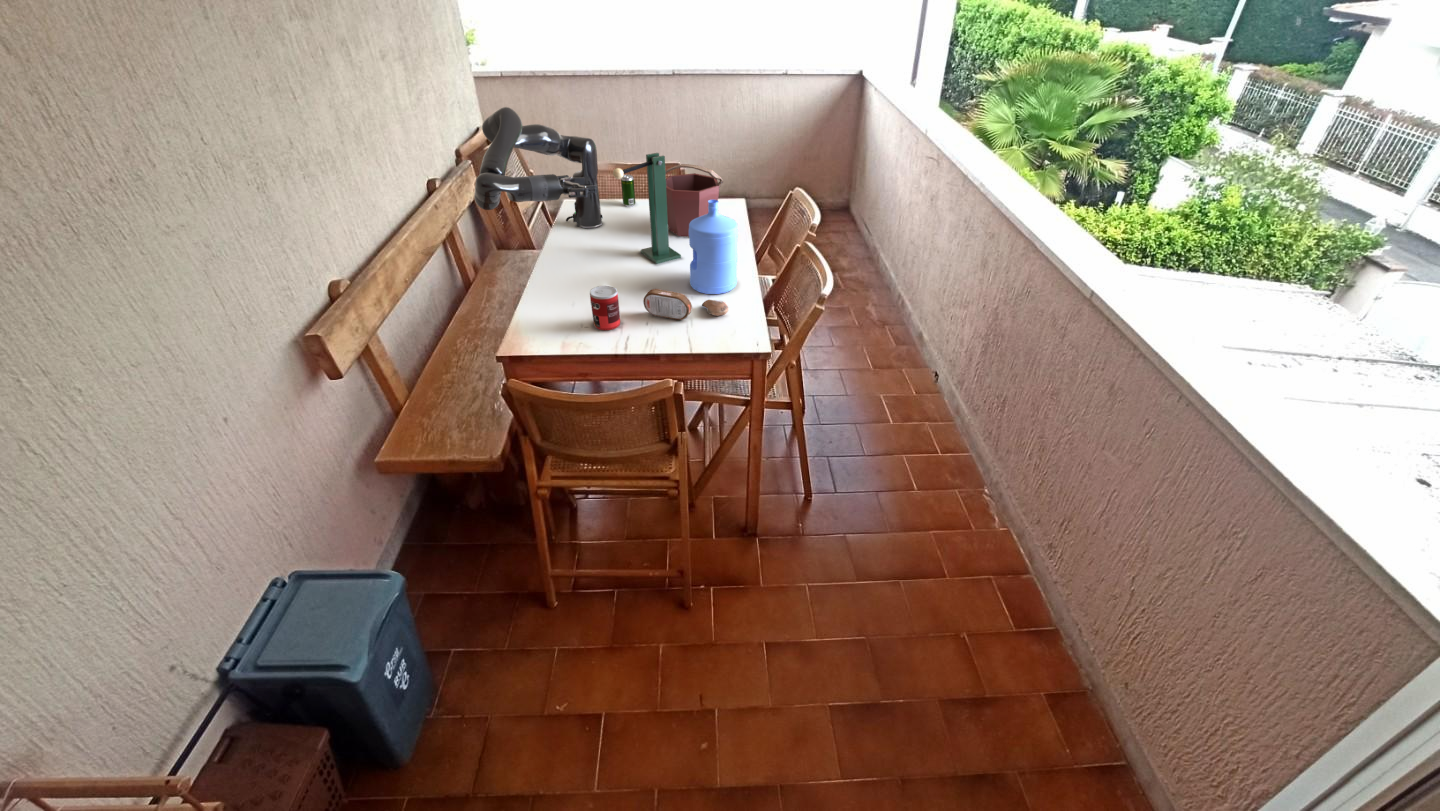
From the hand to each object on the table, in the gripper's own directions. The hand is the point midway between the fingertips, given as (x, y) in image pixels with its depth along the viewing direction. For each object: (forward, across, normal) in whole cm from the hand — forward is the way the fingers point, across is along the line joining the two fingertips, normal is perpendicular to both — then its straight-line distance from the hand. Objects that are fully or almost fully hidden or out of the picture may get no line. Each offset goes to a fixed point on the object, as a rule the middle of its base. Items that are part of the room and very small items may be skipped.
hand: (590, 184), depth 203 cm
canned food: (-12, -35, +30) cm, 48 cm away
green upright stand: (+28, -1, +27) cm, 39 cm away
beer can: (+46, +53, +27) cm, 75 cm away
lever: (+17, +1, -3) cm, 18 cm away
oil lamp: (+19, -47, +26) cm, 57 cm away
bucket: (+51, +13, +25) cm, 58 cm away
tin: (+5, -42, +28) cm, 50 cm away
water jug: (+30, -32, +25) cm, 50 cm away
